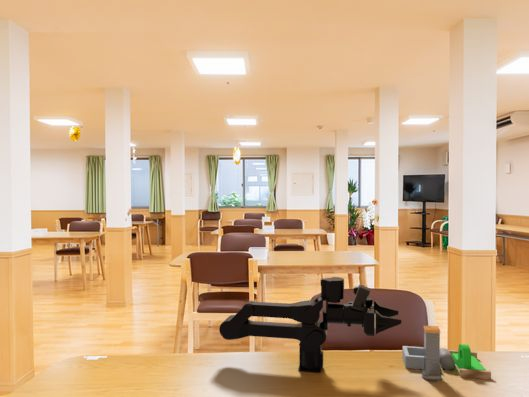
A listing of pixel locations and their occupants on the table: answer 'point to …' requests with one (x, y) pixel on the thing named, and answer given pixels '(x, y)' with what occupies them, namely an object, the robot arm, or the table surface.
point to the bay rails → (473, 373)
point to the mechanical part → (466, 359)
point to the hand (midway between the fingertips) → (399, 317)
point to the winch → (415, 358)
